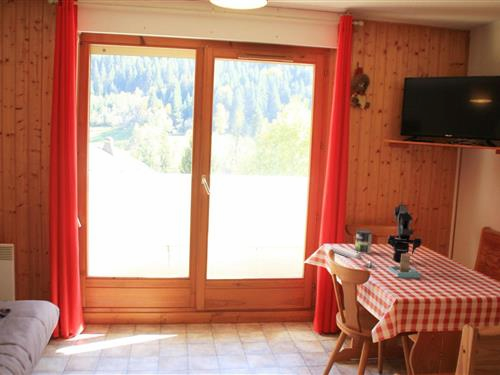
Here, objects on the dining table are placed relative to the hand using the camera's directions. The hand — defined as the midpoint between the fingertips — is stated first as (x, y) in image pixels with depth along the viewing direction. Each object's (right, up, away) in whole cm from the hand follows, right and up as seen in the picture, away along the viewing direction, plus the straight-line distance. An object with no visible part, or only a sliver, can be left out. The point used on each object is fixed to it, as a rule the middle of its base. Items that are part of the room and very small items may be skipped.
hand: (404, 253), depth 293 cm
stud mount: (-19, -9, +1) cm, 22 cm away
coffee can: (-14, -5, +44) cm, 47 cm away
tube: (-28, -6, +30) cm, 42 cm away
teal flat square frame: (-2, -11, -7) cm, 13 cm away
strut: (-2, -11, -7) cm, 13 cm away
